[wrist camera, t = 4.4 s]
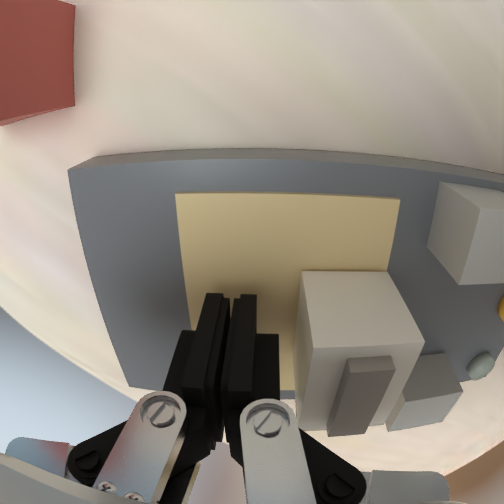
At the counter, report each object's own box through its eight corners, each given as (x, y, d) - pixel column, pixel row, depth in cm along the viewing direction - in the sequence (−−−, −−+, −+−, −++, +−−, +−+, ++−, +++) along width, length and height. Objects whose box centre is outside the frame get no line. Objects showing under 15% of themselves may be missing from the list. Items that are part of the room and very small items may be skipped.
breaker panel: (535, 182, 10) (596, 219, 6) (473, 354, 15) (501, 407, 11) (94, 156, 11) (23, 193, 7) (139, 359, 16) (114, 424, 12)
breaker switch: (387, 271, 10) (431, 355, 7) (364, 354, 12) (386, 436, 8) (301, 270, 10) (315, 362, 7) (292, 356, 12) (297, 444, 9)
